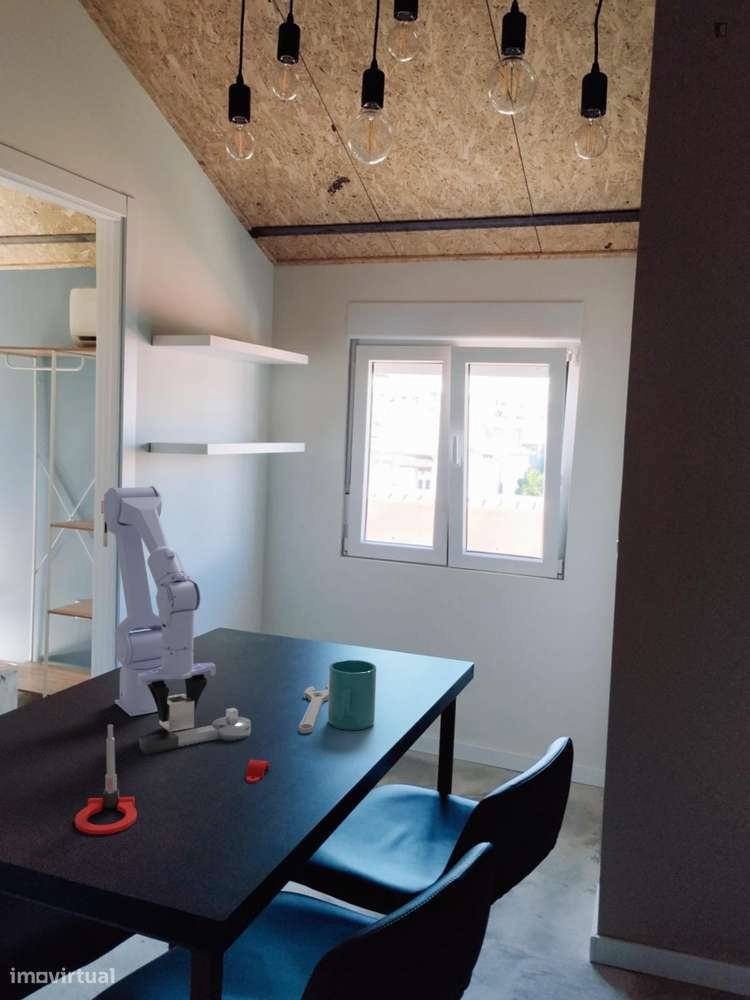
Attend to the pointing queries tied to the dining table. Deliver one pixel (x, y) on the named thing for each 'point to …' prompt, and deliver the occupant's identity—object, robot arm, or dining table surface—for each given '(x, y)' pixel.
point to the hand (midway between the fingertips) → (176, 717)
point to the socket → (179, 713)
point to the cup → (351, 694)
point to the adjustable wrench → (312, 708)
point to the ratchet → (199, 733)
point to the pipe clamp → (256, 770)
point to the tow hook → (108, 799)
